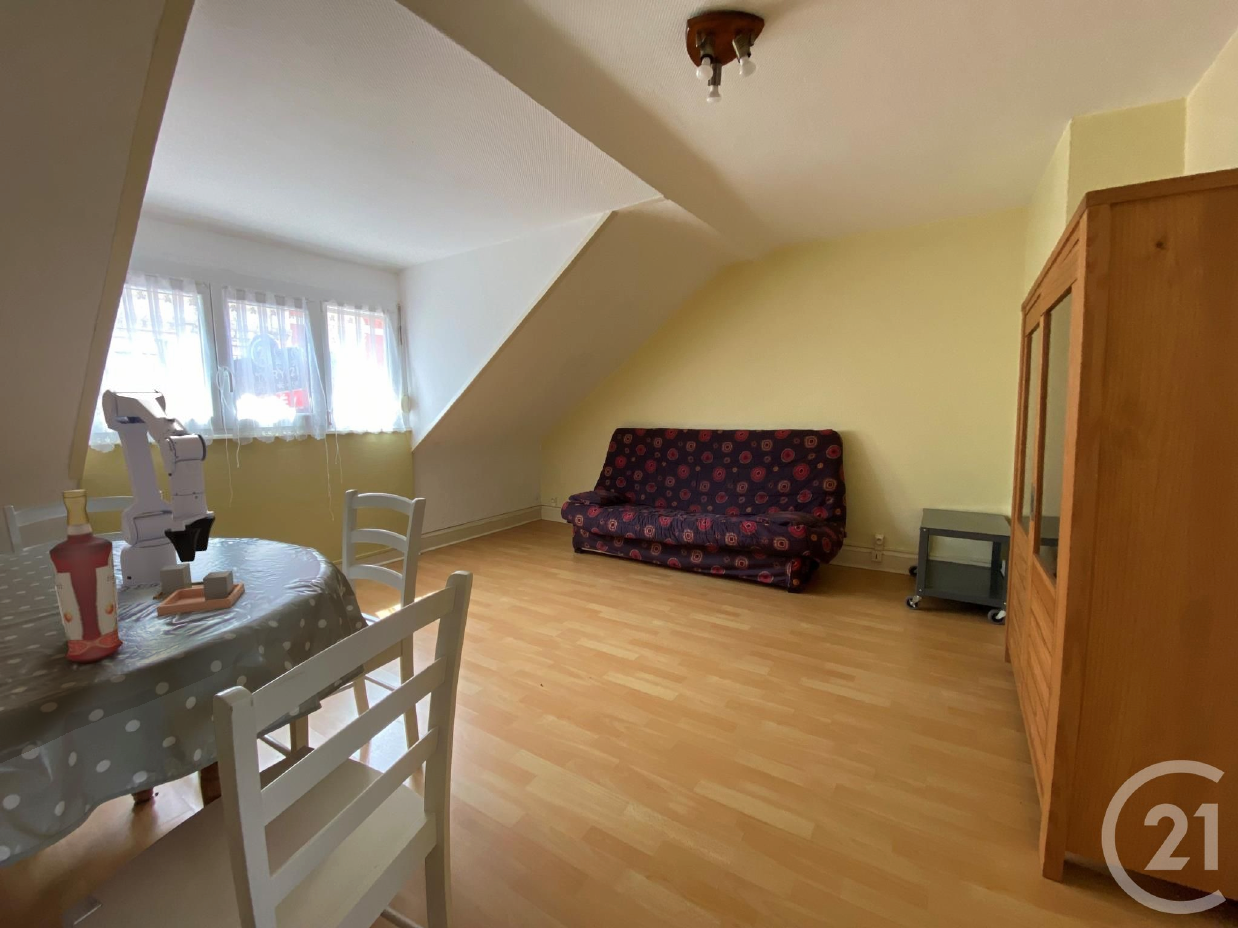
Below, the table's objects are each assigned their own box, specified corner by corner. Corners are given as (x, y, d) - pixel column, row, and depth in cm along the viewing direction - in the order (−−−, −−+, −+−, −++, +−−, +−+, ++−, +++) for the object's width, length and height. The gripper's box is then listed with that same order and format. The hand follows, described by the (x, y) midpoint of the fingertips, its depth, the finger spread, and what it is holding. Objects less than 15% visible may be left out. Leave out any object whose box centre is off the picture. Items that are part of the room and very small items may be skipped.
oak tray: (152, 601, 115) (152, 597, 114) (168, 588, 122) (168, 584, 122) (221, 594, 119) (220, 589, 119) (232, 582, 126) (231, 578, 126)
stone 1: (162, 595, 117) (159, 570, 116) (170, 589, 120) (167, 565, 120) (185, 592, 118) (182, 568, 117) (192, 586, 122) (189, 562, 121)
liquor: (125, 657, 91) (104, 491, 87) (63, 672, 86) (38, 497, 82) (125, 642, 96) (106, 485, 92) (67, 655, 91) (43, 490, 88)
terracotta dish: (158, 617, 106) (156, 607, 106) (178, 599, 116) (177, 589, 115) (231, 609, 111) (230, 598, 110) (244, 592, 120) (243, 582, 120)
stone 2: (205, 604, 112) (202, 578, 111) (212, 597, 115) (209, 572, 115) (228, 601, 113) (226, 576, 112) (234, 595, 117) (232, 570, 116)
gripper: (199, 498, 108) (205, 564, 110) (221, 485, 122) (227, 544, 124) (155, 500, 106) (162, 568, 108) (183, 487, 119) (189, 547, 121)
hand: (194, 556), depth 116 cm, fingers open, 7 cm apart
